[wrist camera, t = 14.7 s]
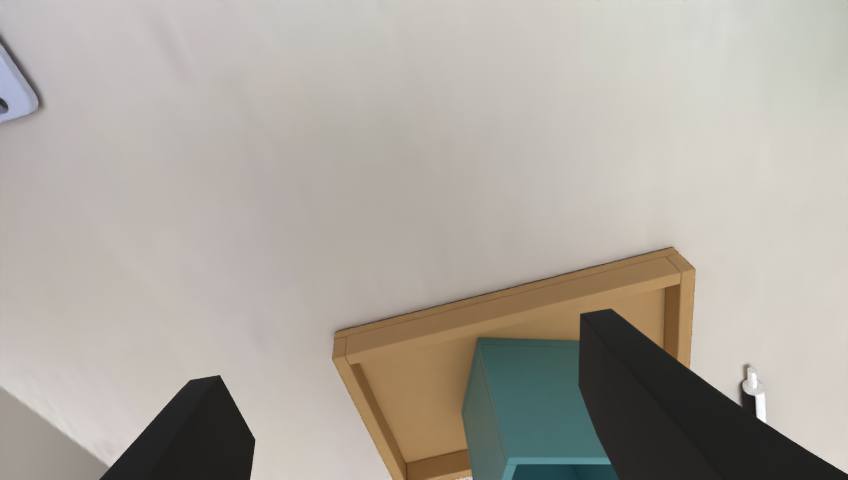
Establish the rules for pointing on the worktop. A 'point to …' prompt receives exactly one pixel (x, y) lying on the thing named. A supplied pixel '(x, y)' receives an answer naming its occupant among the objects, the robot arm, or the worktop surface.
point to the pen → (754, 395)
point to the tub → (530, 414)
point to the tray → (493, 318)
